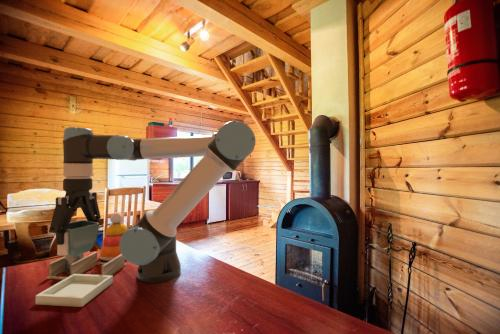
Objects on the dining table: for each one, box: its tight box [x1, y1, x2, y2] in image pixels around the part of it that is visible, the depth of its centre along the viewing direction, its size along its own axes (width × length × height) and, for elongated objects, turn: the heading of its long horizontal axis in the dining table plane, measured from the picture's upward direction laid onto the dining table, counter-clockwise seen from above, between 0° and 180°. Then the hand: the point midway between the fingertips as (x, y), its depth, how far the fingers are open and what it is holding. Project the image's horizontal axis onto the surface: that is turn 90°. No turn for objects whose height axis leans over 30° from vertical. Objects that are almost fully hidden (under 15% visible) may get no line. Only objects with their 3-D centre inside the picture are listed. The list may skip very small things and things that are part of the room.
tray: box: [35, 273, 114, 308], centre depth 77 cm, size 14×14×2 cm
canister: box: [64, 253, 85, 275], centre depth 92 cm, size 6×6×9 cm
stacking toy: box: [98, 211, 129, 262], centre depth 106 cm, size 14×14×20 cm
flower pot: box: [54, 219, 100, 256], centre depth 76 cm, size 9×9×9 cm
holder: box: [46, 251, 127, 280], centre depth 92 cm, size 20×14×5 cm
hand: (77, 248), depth 76 cm, fingers closed on flower pot, 10 cm apart
